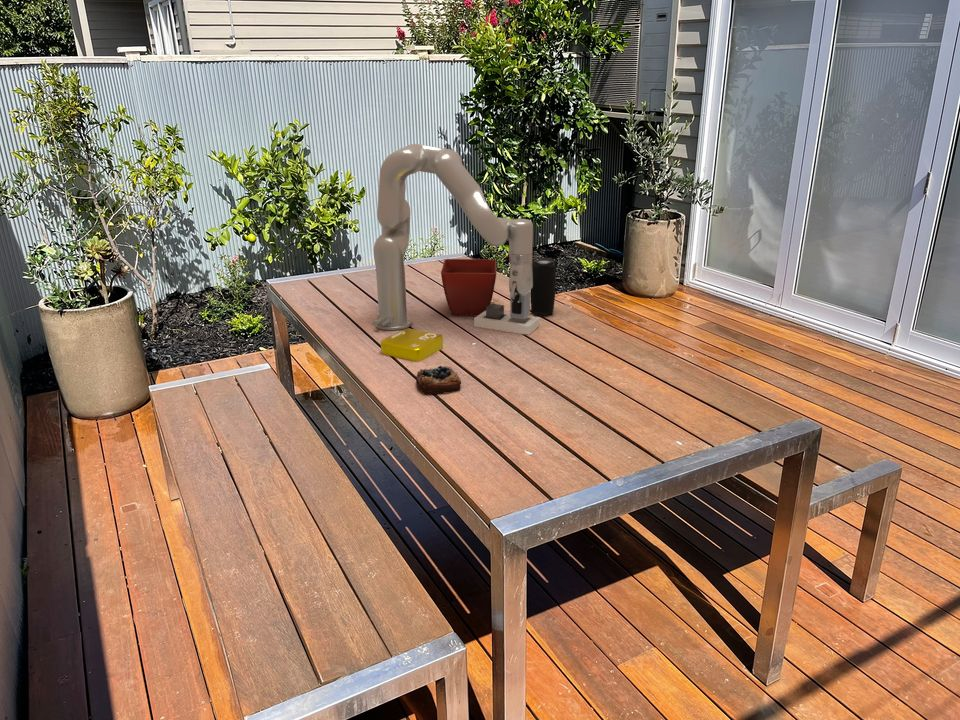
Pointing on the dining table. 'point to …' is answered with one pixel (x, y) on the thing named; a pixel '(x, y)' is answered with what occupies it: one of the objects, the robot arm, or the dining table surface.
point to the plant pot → (468, 285)
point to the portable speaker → (543, 287)
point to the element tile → (412, 344)
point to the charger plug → (525, 306)
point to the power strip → (505, 321)
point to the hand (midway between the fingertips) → (519, 310)
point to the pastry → (437, 380)
